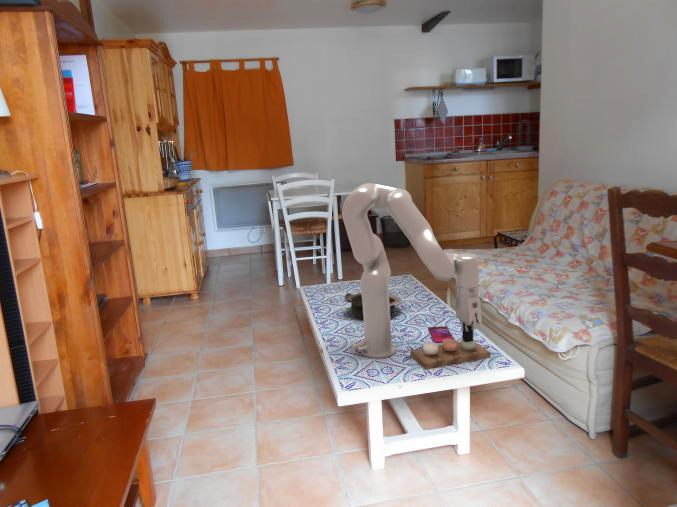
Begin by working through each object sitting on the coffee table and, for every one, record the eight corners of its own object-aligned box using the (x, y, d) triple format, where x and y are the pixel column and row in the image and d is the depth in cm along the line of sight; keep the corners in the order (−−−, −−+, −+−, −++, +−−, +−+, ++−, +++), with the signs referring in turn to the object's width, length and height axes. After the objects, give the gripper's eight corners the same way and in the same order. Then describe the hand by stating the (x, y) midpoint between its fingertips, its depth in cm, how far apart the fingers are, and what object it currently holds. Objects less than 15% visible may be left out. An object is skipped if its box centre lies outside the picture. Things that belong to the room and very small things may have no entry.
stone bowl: (338, 321, 215) (337, 300, 214) (355, 306, 239) (354, 287, 237) (395, 323, 207) (394, 301, 206) (407, 308, 231) (406, 288, 229)
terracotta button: (446, 352, 171) (446, 345, 170) (439, 346, 175) (439, 340, 175) (459, 349, 172) (459, 342, 171) (452, 344, 177) (452, 337, 176)
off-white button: (427, 355, 169) (426, 348, 169) (421, 349, 174) (420, 343, 173) (440, 353, 170) (440, 346, 170) (434, 347, 175) (434, 341, 174)
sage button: (465, 351, 173) (464, 344, 172) (457, 346, 177) (457, 339, 177) (478, 348, 174) (478, 342, 173) (470, 343, 179) (470, 337, 178)
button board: (424, 369, 166) (424, 363, 165) (410, 355, 177) (410, 350, 177) (490, 357, 172) (490, 351, 171) (472, 344, 183) (472, 339, 182)
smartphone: (434, 342, 187) (427, 327, 201) (434, 344, 187) (427, 329, 201) (455, 341, 186) (447, 326, 201) (455, 343, 187) (447, 328, 201)
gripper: (489, 294, 165) (489, 347, 169) (466, 283, 179) (466, 331, 183) (468, 297, 163) (469, 350, 167) (446, 286, 177) (448, 335, 181)
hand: (467, 340), depth 175 cm, fingers closed
